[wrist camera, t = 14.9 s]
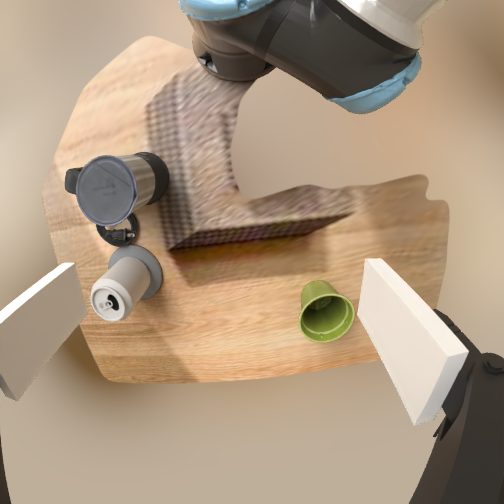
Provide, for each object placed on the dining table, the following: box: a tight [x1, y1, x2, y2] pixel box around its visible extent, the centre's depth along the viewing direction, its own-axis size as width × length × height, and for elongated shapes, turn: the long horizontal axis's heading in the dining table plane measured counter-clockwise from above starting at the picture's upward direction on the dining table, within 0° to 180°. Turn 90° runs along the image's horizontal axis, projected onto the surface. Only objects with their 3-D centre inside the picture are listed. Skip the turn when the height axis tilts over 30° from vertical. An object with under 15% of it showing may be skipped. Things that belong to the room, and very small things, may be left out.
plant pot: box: [298, 280, 355, 343], centre depth 49 cm, size 9×9×9 cm
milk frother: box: [65, 152, 169, 247], centre depth 41 cm, size 14×16×15 cm
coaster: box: [108, 245, 162, 300], centre depth 52 cm, size 11×11×1 cm
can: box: [91, 257, 150, 322], centre depth 46 cm, size 8×8×12 cm
